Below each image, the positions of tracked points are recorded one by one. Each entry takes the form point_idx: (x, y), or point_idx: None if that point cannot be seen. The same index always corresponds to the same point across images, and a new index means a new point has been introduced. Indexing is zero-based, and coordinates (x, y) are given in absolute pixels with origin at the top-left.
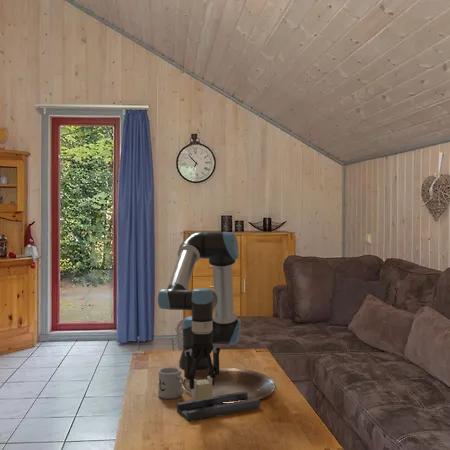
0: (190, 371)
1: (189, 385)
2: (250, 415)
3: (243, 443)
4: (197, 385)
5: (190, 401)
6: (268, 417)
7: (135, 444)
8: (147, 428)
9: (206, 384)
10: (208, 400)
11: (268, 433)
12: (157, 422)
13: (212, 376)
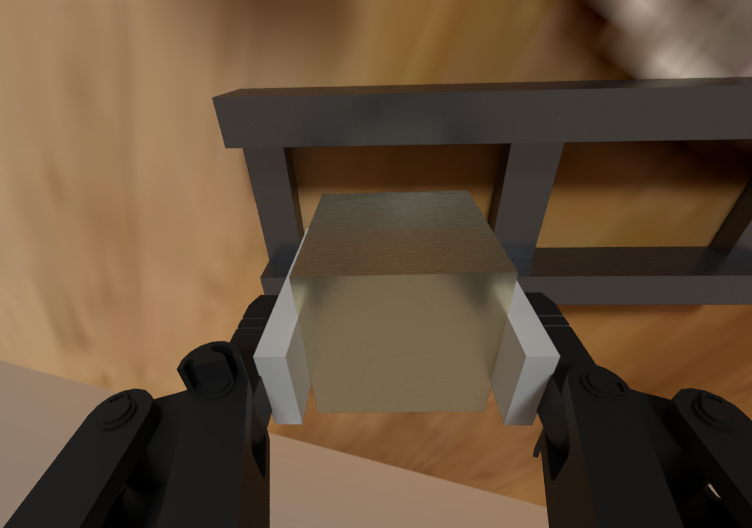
0: (169, 497)
1: (243, 319)
2: (592, 326)
3: (397, 459)
4: (316, 387)
5: (339, 116)
6: (634, 367)
7: (35, 365)
8: (56, 263)
9: (412, 405)
10: (496, 140)
11: (509, 445)
12: (103, 216)
13: (540, 445)
